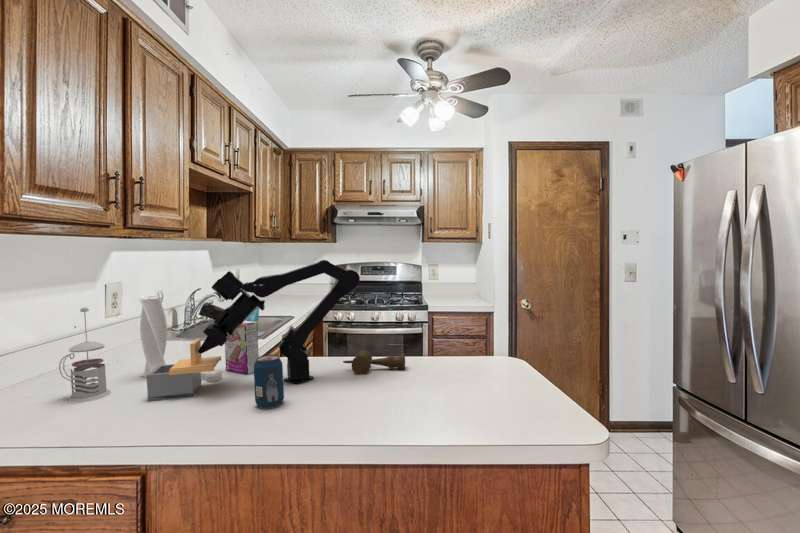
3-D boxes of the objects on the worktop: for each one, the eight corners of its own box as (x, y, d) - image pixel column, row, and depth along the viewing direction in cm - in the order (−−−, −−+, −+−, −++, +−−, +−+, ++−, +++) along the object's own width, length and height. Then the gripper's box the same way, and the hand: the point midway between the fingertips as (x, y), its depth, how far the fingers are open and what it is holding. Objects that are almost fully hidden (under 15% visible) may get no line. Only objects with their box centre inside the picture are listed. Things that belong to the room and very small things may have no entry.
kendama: (405, 375, 127) (340, 375, 127) (405, 367, 137) (344, 367, 137) (405, 355, 127) (340, 356, 127) (405, 349, 137) (344, 349, 137)
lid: (221, 360, 124) (220, 335, 124) (213, 370, 112) (212, 344, 112) (181, 363, 121) (179, 338, 121) (169, 375, 110) (167, 347, 109)
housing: (201, 385, 122) (200, 361, 122) (193, 396, 112) (191, 371, 112) (160, 389, 119) (158, 365, 119) (148, 401, 110) (146, 375, 109)
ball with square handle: (225, 378, 128) (225, 370, 128) (215, 382, 124) (214, 374, 124) (206, 376, 131) (205, 368, 131) (195, 380, 126) (195, 372, 126)
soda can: (270, 398, 109) (267, 353, 109) (290, 401, 106) (288, 355, 105) (249, 407, 103) (247, 359, 102) (269, 411, 100) (267, 362, 99)
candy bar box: (224, 371, 136) (222, 321, 136) (237, 367, 140) (235, 319, 140) (247, 375, 130) (245, 323, 130) (260, 371, 135) (257, 321, 134)
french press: (99, 400, 111) (93, 308, 110) (51, 404, 110) (45, 311, 109) (118, 388, 121) (113, 304, 120) (74, 392, 119) (68, 306, 118)
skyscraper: (177, 374, 135) (172, 289, 134) (152, 381, 128) (147, 291, 127) (161, 371, 139) (156, 288, 138) (136, 378, 132) (131, 291, 131)
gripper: (222, 290, 127) (185, 328, 124) (210, 296, 109) (166, 340, 106) (250, 313, 129) (214, 351, 127) (243, 323, 111) (200, 368, 108)
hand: (199, 352), depth 117 cm, fingers closed, pressing on lid
